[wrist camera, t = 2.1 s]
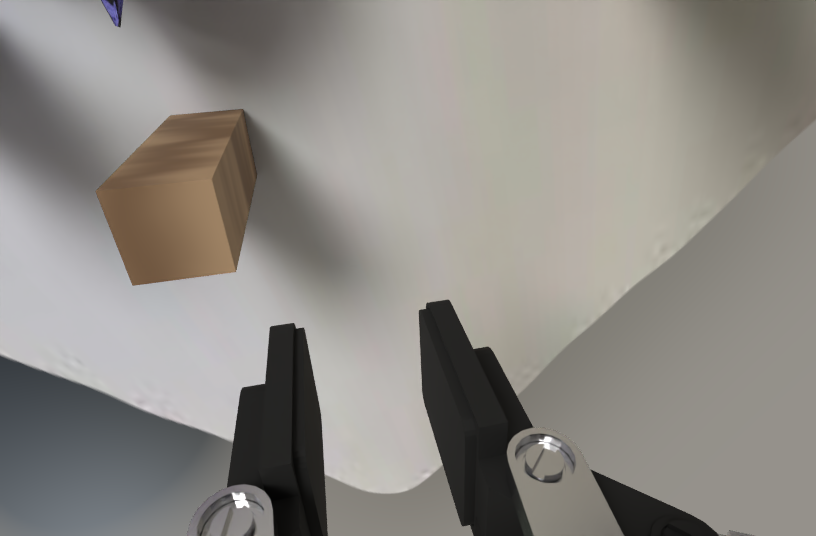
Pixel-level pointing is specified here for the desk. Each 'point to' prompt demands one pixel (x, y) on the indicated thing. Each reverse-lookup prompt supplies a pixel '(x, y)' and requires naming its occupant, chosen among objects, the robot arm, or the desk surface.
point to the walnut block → (183, 198)
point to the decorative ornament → (114, 10)
